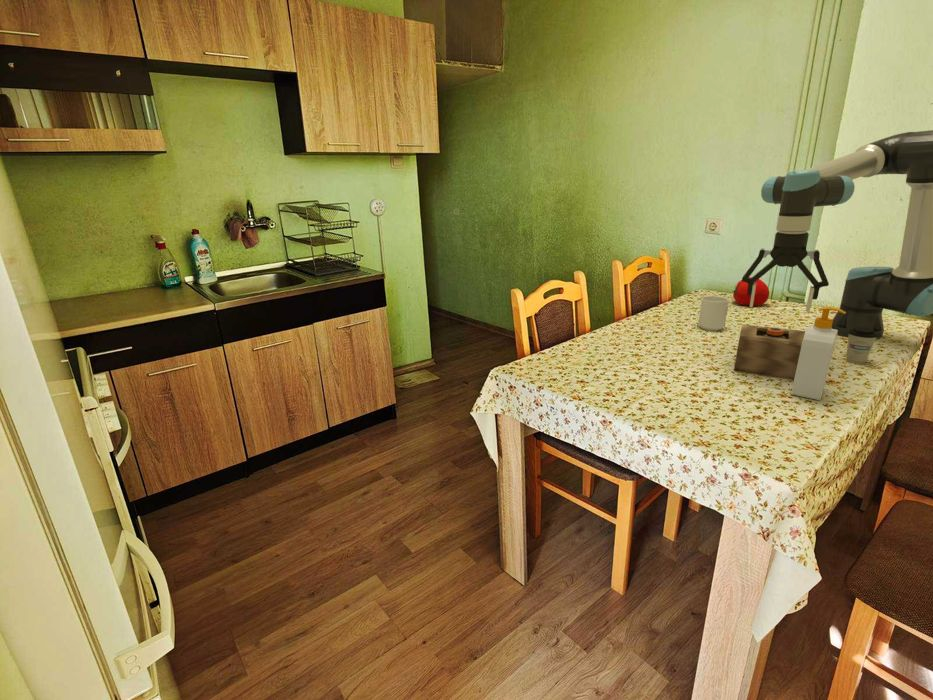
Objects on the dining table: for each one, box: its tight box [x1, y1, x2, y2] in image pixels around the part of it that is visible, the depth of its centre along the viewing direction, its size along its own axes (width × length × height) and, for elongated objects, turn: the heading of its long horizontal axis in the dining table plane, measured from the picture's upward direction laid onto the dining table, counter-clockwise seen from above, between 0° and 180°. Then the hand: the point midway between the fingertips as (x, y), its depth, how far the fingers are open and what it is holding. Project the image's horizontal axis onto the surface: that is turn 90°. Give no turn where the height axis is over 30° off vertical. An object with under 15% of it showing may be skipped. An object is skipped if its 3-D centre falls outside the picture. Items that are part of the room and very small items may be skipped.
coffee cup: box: [845, 327, 878, 364], centre depth 144 cm, size 7×7×10 cm
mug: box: [697, 295, 730, 332], centre depth 179 cm, size 12×9×11 cm
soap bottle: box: [791, 306, 846, 401], centre depth 123 cm, size 9×7×23 cm
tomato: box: [732, 276, 770, 307], centre depth 207 cm, size 13×13×13 cm
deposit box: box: [733, 324, 806, 380], centre depth 141 cm, size 16×12×11 cm
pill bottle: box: [764, 327, 786, 339], centre depth 140 cm, size 6×6×11 cm
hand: (778, 308), depth 137 cm, fingers open, 13 cm apart
